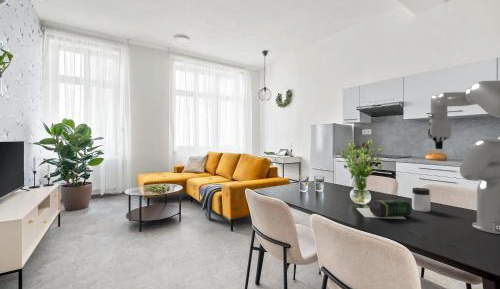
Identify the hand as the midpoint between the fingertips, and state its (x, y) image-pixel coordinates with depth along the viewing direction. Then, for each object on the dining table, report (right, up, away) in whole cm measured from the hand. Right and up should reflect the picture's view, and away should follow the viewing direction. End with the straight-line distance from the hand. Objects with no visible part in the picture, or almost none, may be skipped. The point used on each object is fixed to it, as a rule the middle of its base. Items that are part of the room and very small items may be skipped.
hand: (438, 148), depth 136 cm
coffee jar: (-25, -31, -8) cm, 41 cm away
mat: (-37, -36, -5) cm, 52 cm away
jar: (-10, -36, +1) cm, 37 cm away
